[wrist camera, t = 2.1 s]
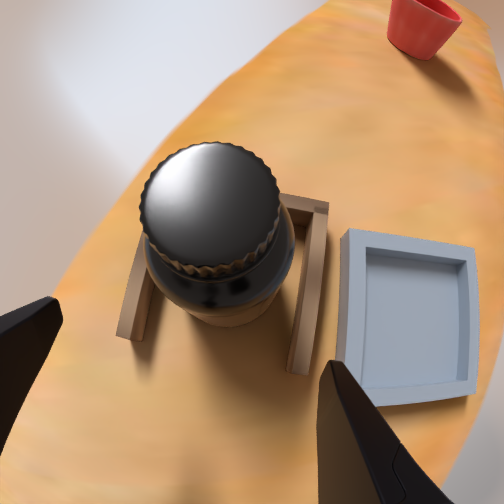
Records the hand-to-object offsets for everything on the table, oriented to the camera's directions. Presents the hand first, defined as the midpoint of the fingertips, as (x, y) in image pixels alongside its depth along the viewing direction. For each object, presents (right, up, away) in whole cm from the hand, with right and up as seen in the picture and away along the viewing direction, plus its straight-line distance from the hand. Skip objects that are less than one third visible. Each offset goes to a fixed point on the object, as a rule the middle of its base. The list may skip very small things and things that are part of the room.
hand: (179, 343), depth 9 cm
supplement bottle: (0, +1, +13) cm, 13 cm away
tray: (+14, -3, +12) cm, 19 cm away
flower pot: (+26, +34, +25) cm, 50 cm away
